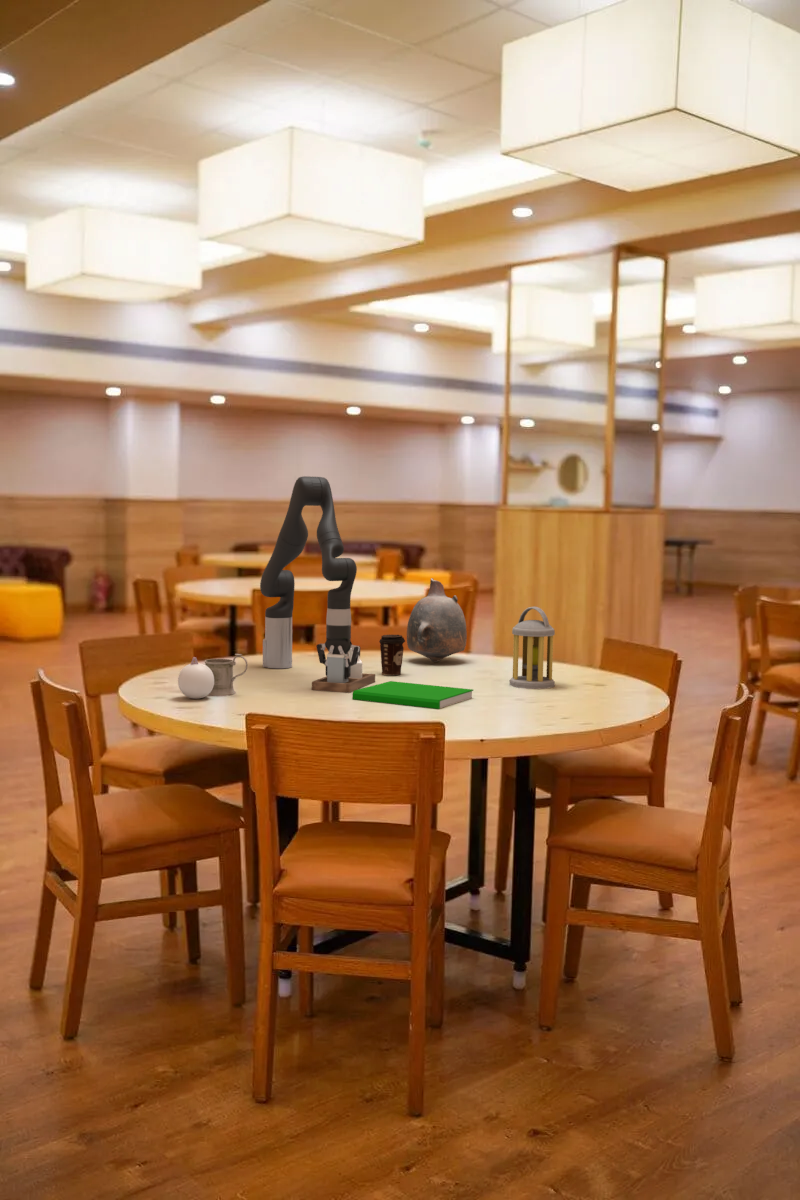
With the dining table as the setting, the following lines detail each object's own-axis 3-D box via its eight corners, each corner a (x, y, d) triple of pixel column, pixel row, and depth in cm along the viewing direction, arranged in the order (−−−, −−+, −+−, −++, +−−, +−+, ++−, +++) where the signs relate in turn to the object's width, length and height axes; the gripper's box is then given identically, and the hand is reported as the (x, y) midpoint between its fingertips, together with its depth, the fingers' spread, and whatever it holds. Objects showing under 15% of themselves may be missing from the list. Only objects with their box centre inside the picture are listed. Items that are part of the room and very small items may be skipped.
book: (390, 690, 367) (390, 681, 367) (473, 699, 353) (473, 689, 353) (352, 701, 347) (352, 690, 347) (438, 710, 334) (438, 700, 333)
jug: (467, 667, 416) (469, 581, 413) (406, 666, 416) (407, 580, 414) (464, 657, 440) (466, 576, 438) (406, 656, 441) (407, 575, 438)
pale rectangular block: (326, 682, 365) (326, 654, 364) (332, 680, 370) (333, 652, 369) (342, 684, 363) (343, 655, 362) (349, 681, 368) (349, 653, 367)
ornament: (184, 702, 338) (184, 660, 337) (173, 696, 347) (173, 655, 346) (218, 700, 343) (218, 658, 342) (207, 694, 352) (207, 654, 351)
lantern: (500, 684, 379) (502, 606, 376) (527, 680, 389) (529, 603, 387) (536, 690, 369) (538, 609, 367) (563, 685, 379) (565, 607, 377)
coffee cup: (405, 672, 400) (406, 634, 399) (403, 676, 392) (404, 637, 391) (380, 672, 401) (380, 633, 400) (377, 675, 393) (377, 636, 392)
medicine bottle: (338, 681, 380) (339, 644, 379) (361, 681, 381) (361, 644, 379) (339, 685, 373) (339, 647, 372) (362, 685, 373) (362, 647, 372)
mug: (195, 694, 352) (196, 653, 351) (213, 689, 361) (213, 650, 360) (238, 697, 347) (239, 657, 346) (255, 693, 356) (255, 653, 355)
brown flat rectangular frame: (311, 689, 363) (311, 681, 363) (338, 679, 384) (338, 671, 384) (350, 692, 359) (350, 684, 359) (375, 681, 380) (375, 674, 380)
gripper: (312, 623, 364) (311, 678, 365) (356, 625, 359) (355, 681, 361) (321, 620, 371) (320, 675, 372) (364, 623, 366) (364, 678, 368)
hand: (338, 678), depth 366 cm, fingers closed on pale rectangular block, 5 cm apart
